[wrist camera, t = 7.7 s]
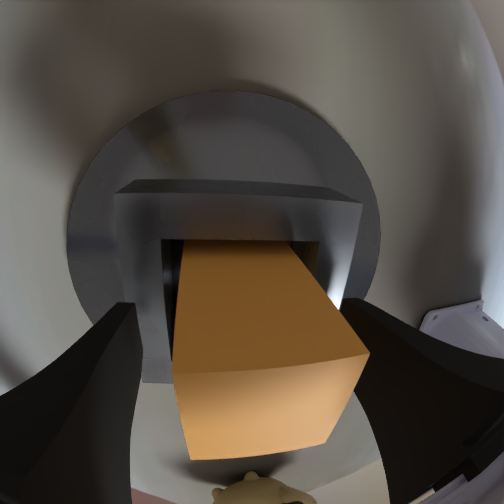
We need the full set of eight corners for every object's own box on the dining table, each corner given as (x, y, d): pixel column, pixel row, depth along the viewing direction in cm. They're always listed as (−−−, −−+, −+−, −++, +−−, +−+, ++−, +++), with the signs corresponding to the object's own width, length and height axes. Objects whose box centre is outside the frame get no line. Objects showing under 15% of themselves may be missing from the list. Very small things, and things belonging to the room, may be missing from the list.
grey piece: (392, 124, 12) (443, 127, 9) (311, 423, 21) (324, 456, 18) (67, 101, 9) (23, 93, 6) (130, 432, 18) (127, 468, 15)
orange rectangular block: (277, 230, 12) (370, 353, 5) (268, 305, 14) (324, 443, 7) (185, 229, 12) (171, 372, 5) (188, 307, 13) (190, 459, 6)
